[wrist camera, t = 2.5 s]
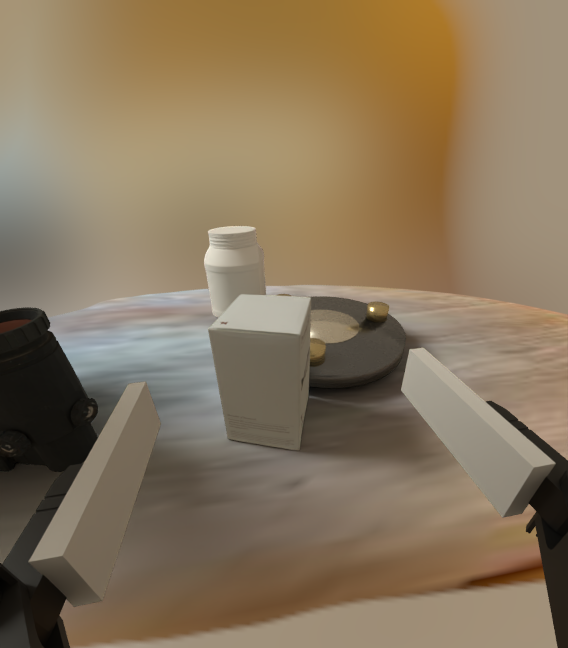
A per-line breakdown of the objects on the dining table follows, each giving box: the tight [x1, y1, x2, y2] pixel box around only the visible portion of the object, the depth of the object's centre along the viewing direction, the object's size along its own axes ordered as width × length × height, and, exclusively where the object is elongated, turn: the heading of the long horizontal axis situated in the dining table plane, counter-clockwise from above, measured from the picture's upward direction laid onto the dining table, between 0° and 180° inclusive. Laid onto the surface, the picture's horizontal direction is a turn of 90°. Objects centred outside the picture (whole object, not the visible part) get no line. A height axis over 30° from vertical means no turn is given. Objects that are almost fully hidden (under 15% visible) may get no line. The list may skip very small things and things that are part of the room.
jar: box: [204, 226, 266, 318], centre depth 50 cm, size 12×10×15 cm
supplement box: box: [208, 294, 311, 450], centre depth 25 cm, size 7×7×13 cm
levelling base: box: [276, 294, 406, 388], centre depth 39 cm, size 22×22×6 cm
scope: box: [0, 308, 98, 472], centre depth 22 cm, size 8×14×10 cm
